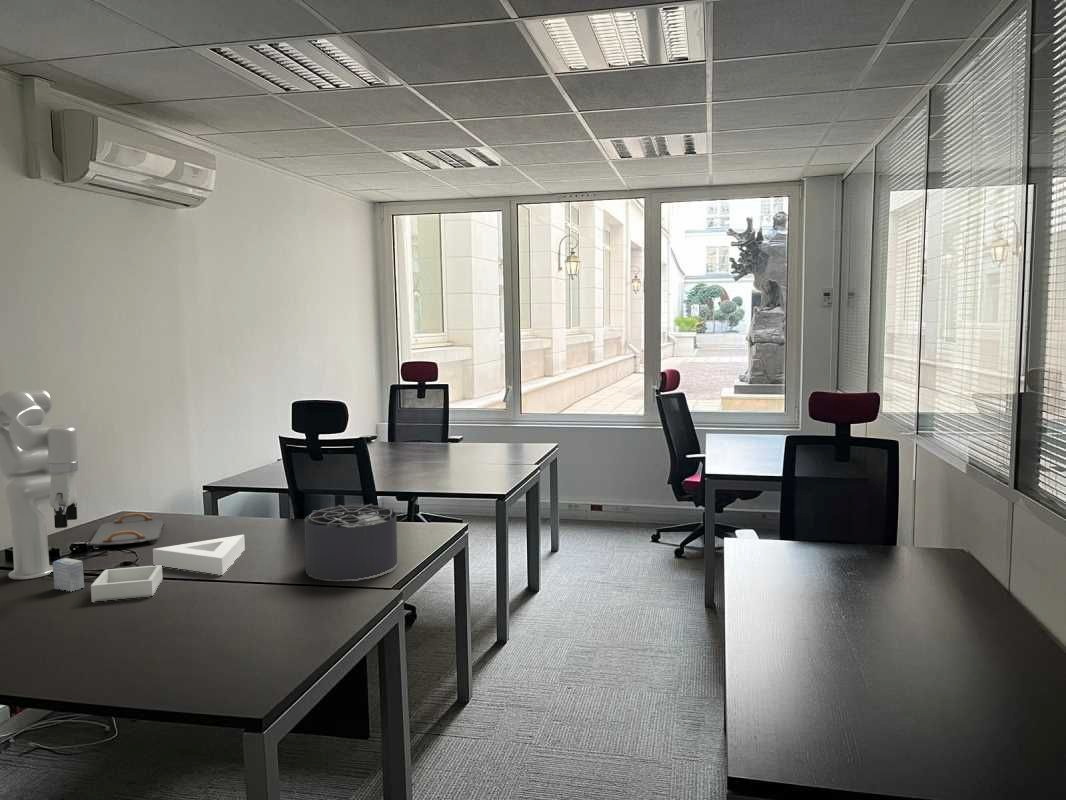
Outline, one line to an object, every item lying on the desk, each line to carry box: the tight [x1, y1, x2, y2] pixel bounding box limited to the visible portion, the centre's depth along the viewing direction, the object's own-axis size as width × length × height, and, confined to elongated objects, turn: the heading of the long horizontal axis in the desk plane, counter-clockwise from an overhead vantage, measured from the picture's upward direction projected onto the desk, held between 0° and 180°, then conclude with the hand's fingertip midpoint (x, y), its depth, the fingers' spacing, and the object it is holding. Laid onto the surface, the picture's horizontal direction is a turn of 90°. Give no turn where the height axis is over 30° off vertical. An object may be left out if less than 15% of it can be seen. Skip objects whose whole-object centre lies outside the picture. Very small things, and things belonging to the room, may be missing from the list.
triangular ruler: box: [152, 534, 246, 576], centre depth 262 cm, size 30×26×6 cm
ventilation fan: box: [304, 503, 398, 580], centre depth 251 cm, size 30×18×30 cm
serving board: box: [88, 512, 166, 549], centre depth 294 cm, size 39×23×6 cm, turn 22°
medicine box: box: [52, 557, 85, 593], centre depth 232 cm, size 8×4×9 cm, turn 65°
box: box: [90, 565, 164, 603], centre depth 230 cm, size 16×16×5 cm
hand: (66, 523), depth 231 cm, fingers open, 9 cm apart
